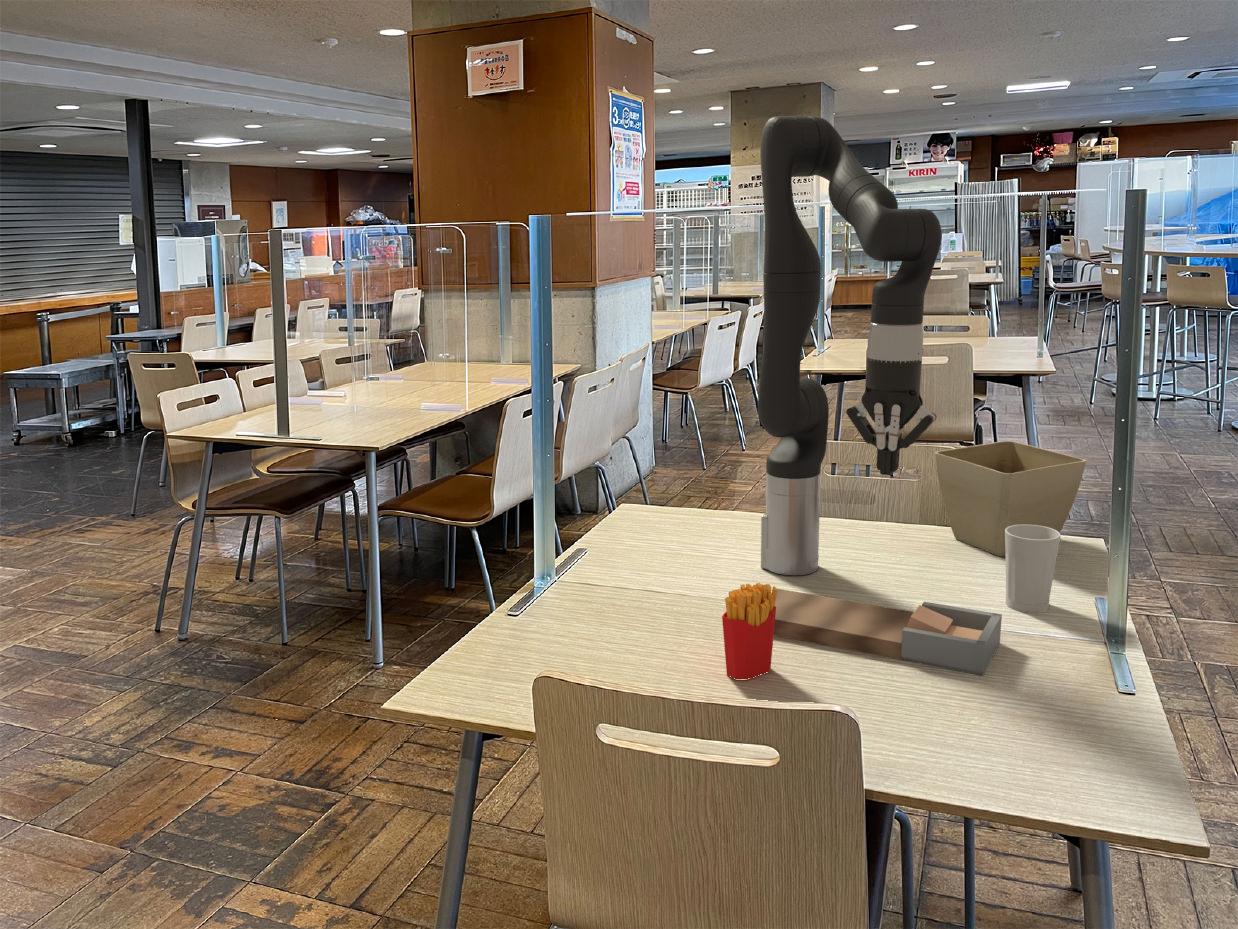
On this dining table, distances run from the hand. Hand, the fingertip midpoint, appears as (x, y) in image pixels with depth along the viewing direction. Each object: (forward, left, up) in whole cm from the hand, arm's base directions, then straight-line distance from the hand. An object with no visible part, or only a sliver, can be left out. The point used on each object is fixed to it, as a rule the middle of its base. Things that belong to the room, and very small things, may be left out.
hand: (887, 473), depth 147 cm
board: (-6, -5, -24) cm, 25 cm away
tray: (+11, -5, -24) cm, 26 cm away
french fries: (-11, -24, -24) cm, 35 cm away
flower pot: (+9, +48, -24) cm, 55 cm away
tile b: (+13, -5, -23) cm, 27 cm away
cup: (+18, +18, -24) cm, 35 cm away
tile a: (+8, -4, -22) cm, 23 cm away
